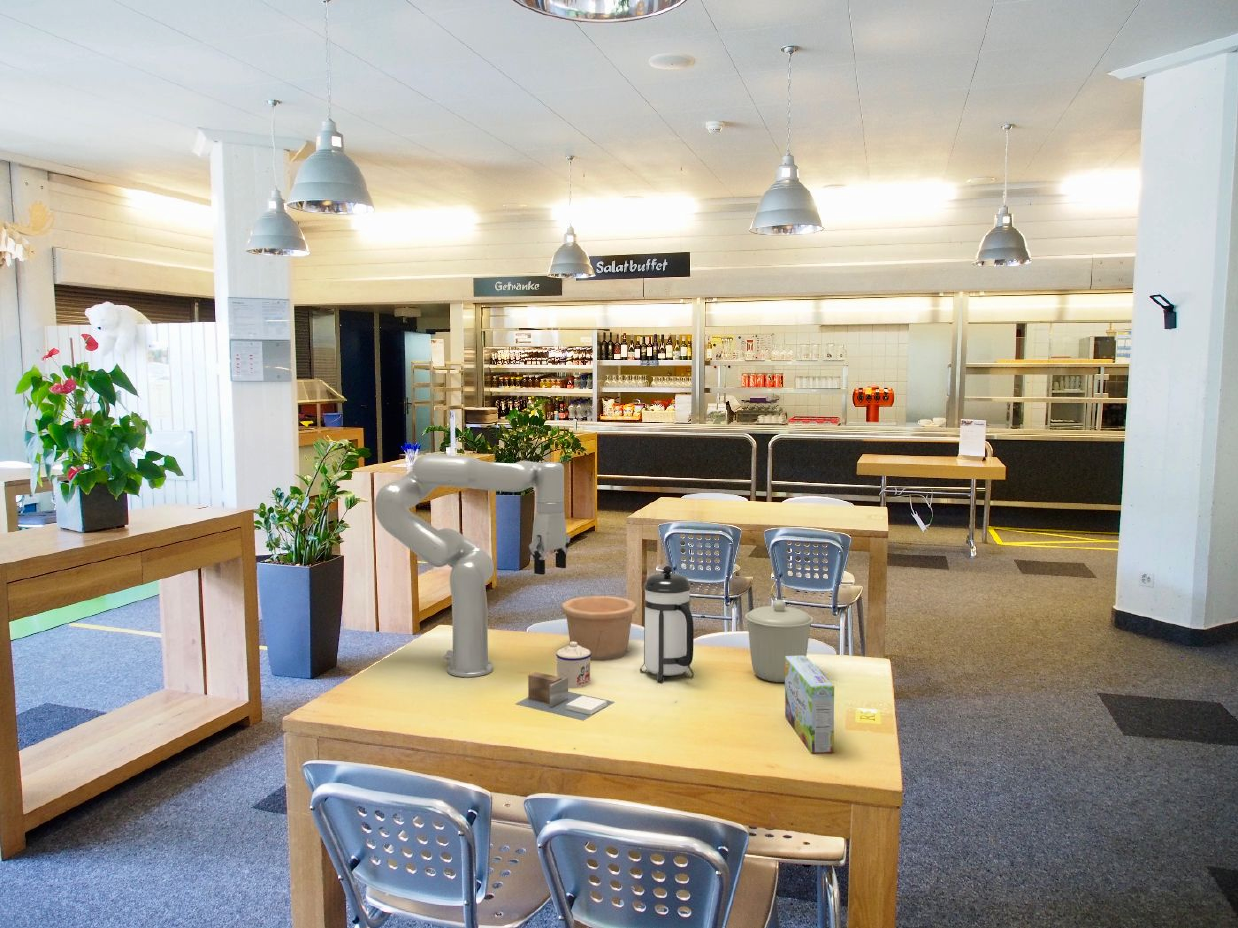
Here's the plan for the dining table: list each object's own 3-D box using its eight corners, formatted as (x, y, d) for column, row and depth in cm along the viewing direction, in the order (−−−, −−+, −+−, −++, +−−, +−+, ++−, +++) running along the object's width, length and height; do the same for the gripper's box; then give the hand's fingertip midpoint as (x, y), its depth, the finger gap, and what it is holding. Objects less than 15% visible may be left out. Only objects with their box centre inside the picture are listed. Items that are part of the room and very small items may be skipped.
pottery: (649, 648, 258) (649, 601, 257) (609, 668, 239) (609, 617, 238) (589, 637, 269) (589, 592, 268) (547, 655, 251) (547, 607, 250)
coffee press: (629, 680, 229) (630, 569, 226) (650, 663, 244) (650, 558, 241) (692, 689, 222) (693, 575, 220) (709, 670, 237) (710, 563, 235)
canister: (783, 692, 220) (785, 612, 218) (730, 675, 234) (731, 599, 232) (825, 677, 232) (827, 600, 230) (772, 661, 246) (773, 589, 244)
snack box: (782, 717, 204) (783, 654, 203) (805, 716, 204) (806, 654, 203) (809, 754, 183) (811, 685, 182) (835, 753, 183) (837, 684, 182)
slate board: (514, 707, 209) (514, 703, 209) (548, 690, 221) (548, 687, 221) (583, 724, 199) (583, 720, 198) (615, 705, 211) (615, 701, 210)
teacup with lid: (582, 693, 219) (582, 649, 218) (550, 689, 222) (550, 645, 221) (600, 679, 230) (600, 636, 229) (569, 675, 233) (569, 633, 232)
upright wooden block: (523, 701, 211) (523, 677, 210) (540, 692, 217) (540, 669, 216) (551, 707, 206) (551, 683, 206) (568, 699, 212) (568, 675, 212)
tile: (566, 704, 205) (590, 709, 201) (582, 695, 211) (606, 700, 207) (566, 709, 205) (590, 715, 202) (582, 700, 211) (606, 706, 208)
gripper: (557, 503, 241) (557, 563, 242) (519, 510, 226) (519, 574, 227) (579, 505, 237) (579, 566, 238) (542, 513, 222) (542, 578, 223)
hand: (550, 570), depth 233 cm, fingers open, 9 cm apart
